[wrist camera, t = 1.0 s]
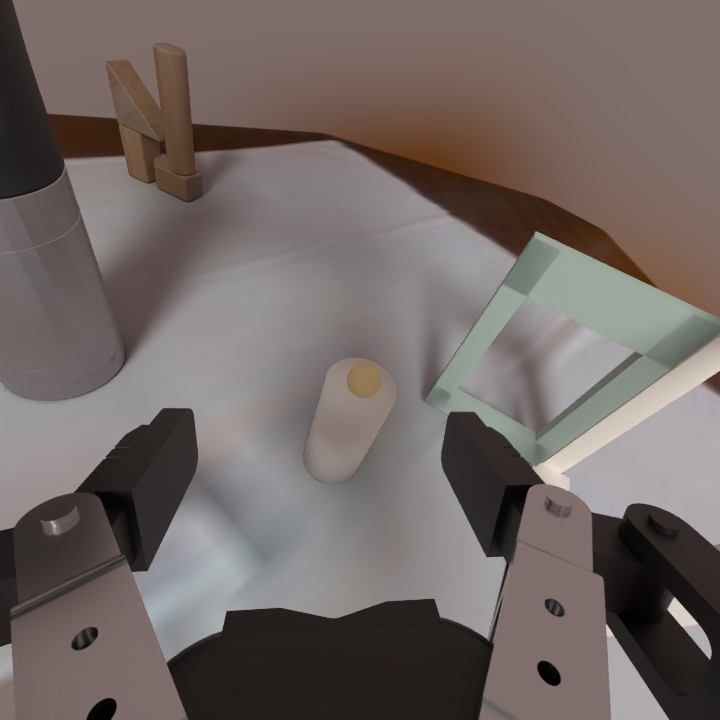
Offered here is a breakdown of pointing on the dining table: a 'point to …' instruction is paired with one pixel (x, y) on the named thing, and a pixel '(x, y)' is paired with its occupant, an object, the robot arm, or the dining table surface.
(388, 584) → the dining table surface
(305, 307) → the dining table surface
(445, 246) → the dining table surface
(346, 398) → the white candle
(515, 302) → the grey-green rectangular frame
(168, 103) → the wooden braced frame
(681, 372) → the door frame
